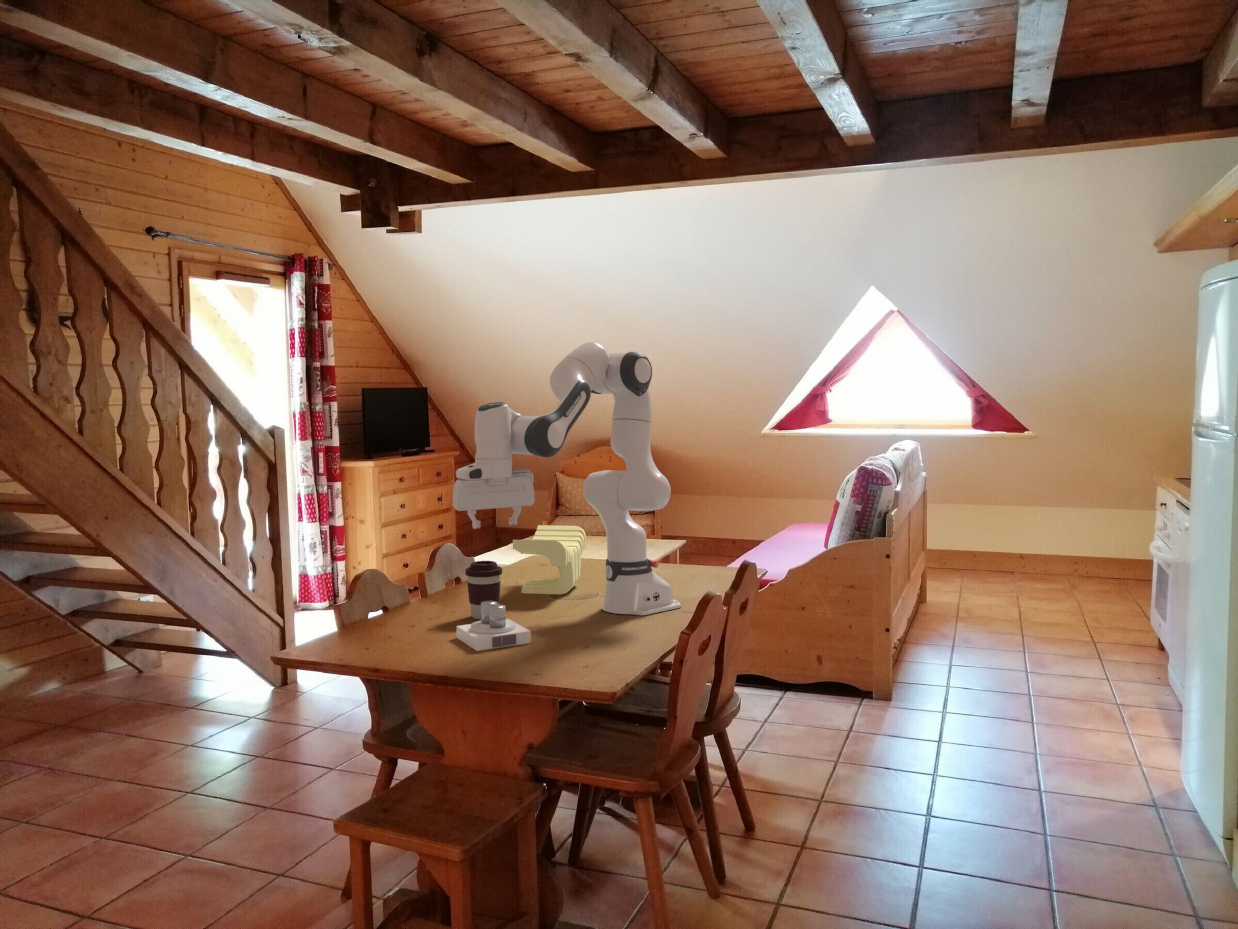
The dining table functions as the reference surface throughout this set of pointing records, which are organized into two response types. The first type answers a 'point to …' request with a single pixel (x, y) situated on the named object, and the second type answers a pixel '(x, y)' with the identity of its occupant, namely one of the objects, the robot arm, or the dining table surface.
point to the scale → (493, 635)
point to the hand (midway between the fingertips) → (494, 526)
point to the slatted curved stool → (555, 556)
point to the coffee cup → (483, 584)
